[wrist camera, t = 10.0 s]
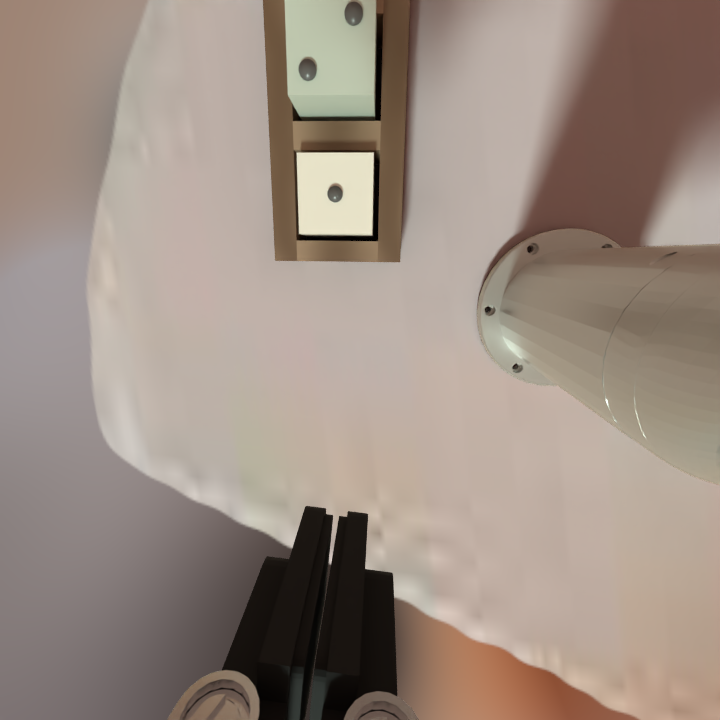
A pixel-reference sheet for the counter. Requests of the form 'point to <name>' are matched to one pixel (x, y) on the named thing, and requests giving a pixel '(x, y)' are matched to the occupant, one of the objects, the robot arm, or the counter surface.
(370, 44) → the button two
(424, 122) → the counter surface
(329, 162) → the button one
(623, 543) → the counter surface
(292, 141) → the button board
